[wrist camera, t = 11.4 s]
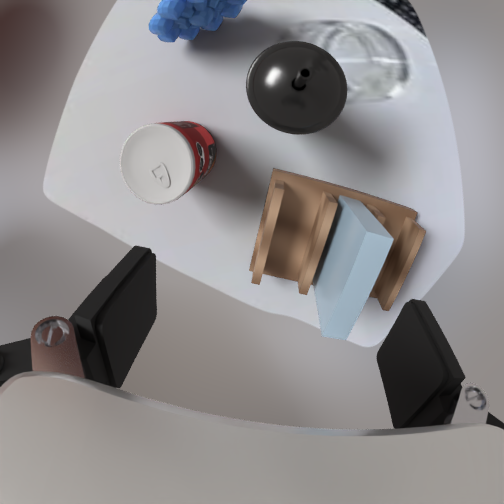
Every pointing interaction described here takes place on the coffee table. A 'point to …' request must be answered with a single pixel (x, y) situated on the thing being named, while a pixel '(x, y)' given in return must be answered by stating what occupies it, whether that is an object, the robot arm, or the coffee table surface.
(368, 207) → the dish rack
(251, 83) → the drinking cup
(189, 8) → the grapes
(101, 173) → the coffee table surface
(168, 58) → the coffee table surface
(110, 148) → the coffee table surface
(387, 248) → the light blue square slab
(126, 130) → the coffee table surface
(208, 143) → the canned food
